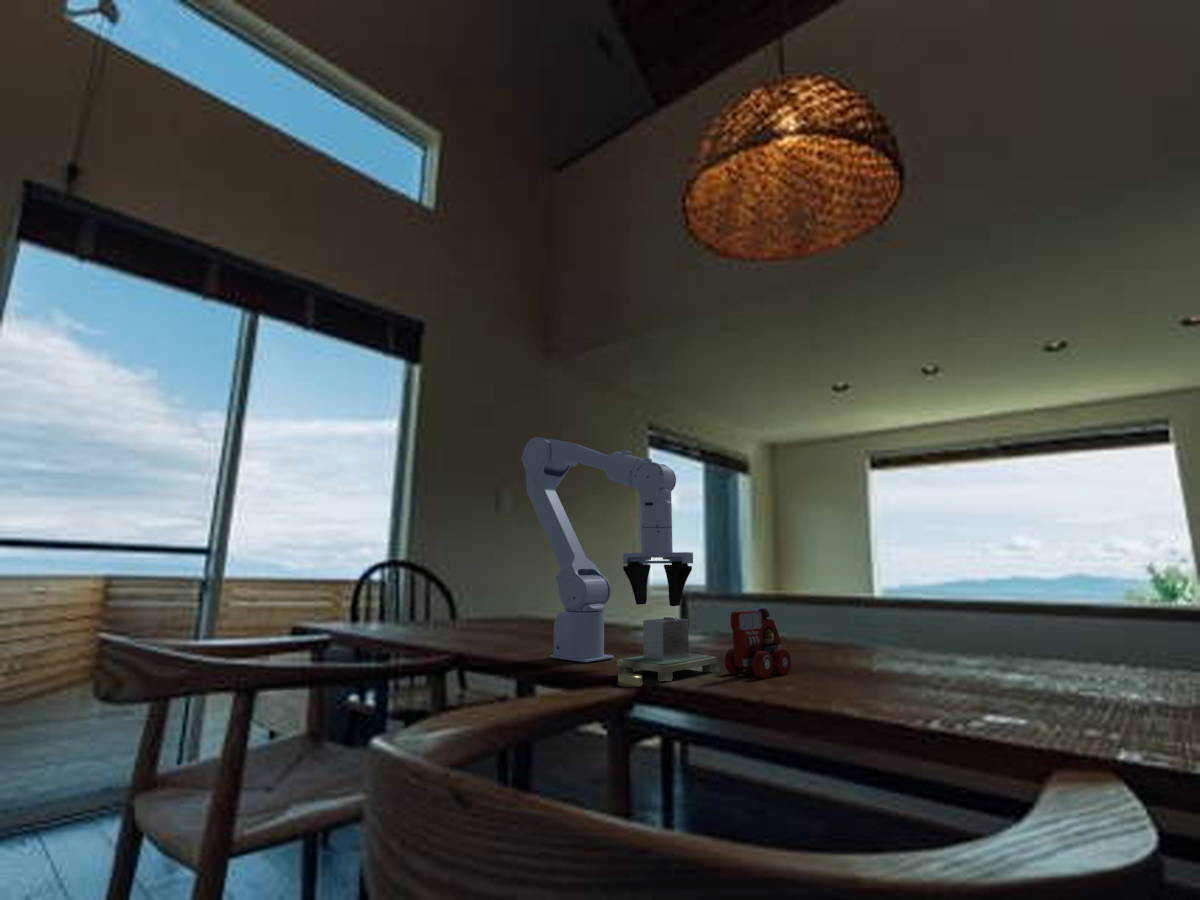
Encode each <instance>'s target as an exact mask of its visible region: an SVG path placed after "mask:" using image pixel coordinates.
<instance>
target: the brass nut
mask: <svg viewBox="0 0 1200 900" xmlns="http://www.w3.org/2000/svg"><path fill="white" fill-rule="evenodd" d="M617 686H619V687H624V688H637V687H639V688H640V687H642V686H643V675H642V674H638V673H633V674H620V675H619V674H618V675H617Z"/></svg>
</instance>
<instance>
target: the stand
mask: <svg viewBox="0 0 1200 900" xmlns="http://www.w3.org/2000/svg"><path fill="white" fill-rule="evenodd" d="M717 663H718V656H713V655H707V654H706V655H705V654H697V653H690V652H689V657H684V658H678V659H673V660H667V661H658V660H650V659H644V654H643V655H638V656H629V657H625V658H620V659H617V660H616V666H618V674H619V673H623V674H629V673H633V669H637V670H642V671H643V670H645V671H650V672H657V681H658V680H664V681H667V680H671V679H674V678H673V676H674V675H673V672H677V671H682V670H687V669H688V670H689V669H693V668H697V667H701V668H702V670H701V671H706V672H705V673H709V672H712V673H716V672H717ZM715 671H716V672H715ZM633 674H634V673H633Z"/></svg>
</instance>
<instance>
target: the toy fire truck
mask: <svg viewBox="0 0 1200 900" xmlns="http://www.w3.org/2000/svg"><path fill="white" fill-rule="evenodd" d="M730 628H731V630H732V643H733V647H732V648H730V649H728V650H727V651H726V654H725V657H724V666H725V669H726V671H727V672H728V673H729V674H731V675H740V674H742V673H743V672H744V671H751V672H753V674H754V675H755V676H756V677H757V678H759V679H768V678H770V677H771V676H772V675H773V673H774V674H776V675H781V676H785V675H788V674H789V673H790V671H791V667H792V660H791V654H790V653H789V651H788V650H787V649H784V648H782V641H781V637H780V635H779V631H778V629H777V626H776V623H775V620H774V619H772V618H770V612H769V610H768V609H767V608H764V607H761V608H759V609H758V610H739V611H738V610H737V611H732V612H731V613H730Z"/></svg>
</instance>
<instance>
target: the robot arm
mask: <svg viewBox="0 0 1200 900" xmlns="http://www.w3.org/2000/svg"><path fill="white" fill-rule="evenodd" d="M621 450H622V451H615V452H613V453H611V454H605V453H602V452H600V451H598V450H595V449H591V448H588V447H586V446H583V445H581V444H577V443H573V442H570V441H564V440H557V439H550V438H547V439H546V438H543V437H541V436H540V437H539V436H536V437H533V438H531V439H530V440H529V441H527V443H526V445H525V447H524V450H523V453H522V455H521V458H520V460H521V462H522V464H523V466H524V470H525V481H526V482H525V483H526V484H525V486H526V491H527V495H528V498H529V500H530V502H531V504H532V508H534V509H533V510H534V512H535V513H536V516H537V518H538V520H539V523H540V525H541V527H542V530H543V532H544V534H545V536H546V538H547V541H548V543H549V546H550V548H551V550H552V552H553V555H554V558H556V562H557V564H558V566H559V570H558V572H557V573H556V575H555V579H556V582H557V584H558V597H559V600H560V602H561V604H562V605H563V606H564V609H563V610H561V611H560V612H558V614H557V615H556V616H555V618H554V623H553V654H550V656H549V657H550V658H551V659H559V660H566V661H573V662H579V663H591V662H596V661H603V660H609V659H614V658H615V656H614V655H613V654H605V609H606V604H607V602H608V601H609V600H610V598H611V593H612V587H611V584H610V582H609V580H608V579H607V577H606V576H604V575H603V574H602V573H601V572H600V570H599V568H598V566H597V565H596V564H595V563H593V562H592V561H591V560H590V559H588V557H587V556H586V553H585V551H584V550H583V548H582V545H581V543H580V541H579V539H578V537H577V535H576V533H575V530H574V528H573V526H572V523H571V522H570V520H569V517H568V515H567V513H566V511H565V508H564V506H563V504H562V502H561V499H560V498H559V496H558V493H557V488H558V487H559V485H560V484H561V482H562V481H563V479H564V478H565V476H566V475H567V473H568V472H569V471H570V469H571V467H574V468H575V467H576V466H577V465H578V464H581V465H584V466H589V467H592V468H595V469H597V470H602V471H604V473H605V476H606V478H607V479H608V480H610V481H612V482H613V481H614V482H615V483H618V484H622V485H625V486H628V487H631V488H634V489H637V490H638V492H639V500H640V501H639V502H640V503H639V504H640V505H639V506H640V507H639V509H640V510H639V511H640V513H639V514H640V552H632V553H631V552H628V553H627V552H626V553H622V564H624V565H623V567H622V570H623V571H624V573H625V575H626V577H627V578H628V581H629V583H630V586H631V588H632V592H633V596H634V600H635V605H646V604H647V600H648V599H647V598H648V596H647V595H648V578H649V573H650V571H651V566H652V564H663V569H664V572H665V575H666V579H667V586H668V587H667V588H668V603H669V607H679V606H681V601H682V597H683V592H684V589H685V584H686V583H687V580H688V577H689V576H690V574H691V572H692V570H693V565H689V564H694V552H687V551H684V552H683V551H681V552H677V551H676V552H673V551H674V550H673V509H672V508H673V507H672V504H673V503H672V491H673V490H674V488H675V487H676V483H677V476H676V473H675V471H674V470H673V469H672V468H671V467H669V466H667V465H666V464H664V463H663V464H662V463H657V462H654V461H653V459H652V458H650V457H644V458H642V457H637V456H635V455H632V451H629V450H626V449H621ZM652 558H654V559H655V558H656V559H657V558H658V559H659V558H661V559H662V560H652ZM625 564H626V565H625Z"/></svg>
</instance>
